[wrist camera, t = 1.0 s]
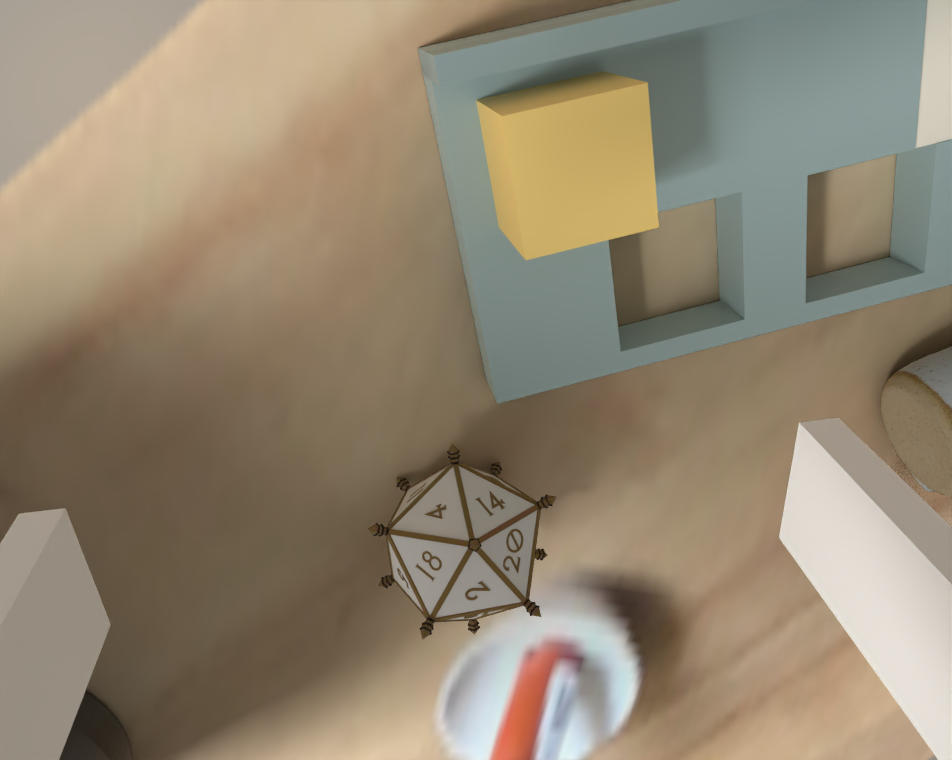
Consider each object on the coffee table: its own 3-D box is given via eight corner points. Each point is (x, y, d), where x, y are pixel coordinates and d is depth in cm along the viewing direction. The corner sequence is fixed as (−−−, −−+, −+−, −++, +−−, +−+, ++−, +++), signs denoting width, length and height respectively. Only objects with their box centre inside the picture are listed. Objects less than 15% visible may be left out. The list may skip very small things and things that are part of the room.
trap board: (486, 380, 37) (506, 425, 33) (417, 48, 30) (433, 55, 26) (978, 252, 39) (1053, 280, 35) (1021, -86, 32) (1121, -98, 28)
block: (498, 227, 31) (525, 260, 27) (476, 99, 29) (501, 116, 25) (615, 198, 32) (658, 227, 28) (602, 70, 29) (647, 82, 26)
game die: (422, 430, 42) (432, 400, 32) (561, 501, 42) (613, 493, 32) (343, 582, 40) (328, 599, 30) (489, 657, 40) (521, 697, 31)
